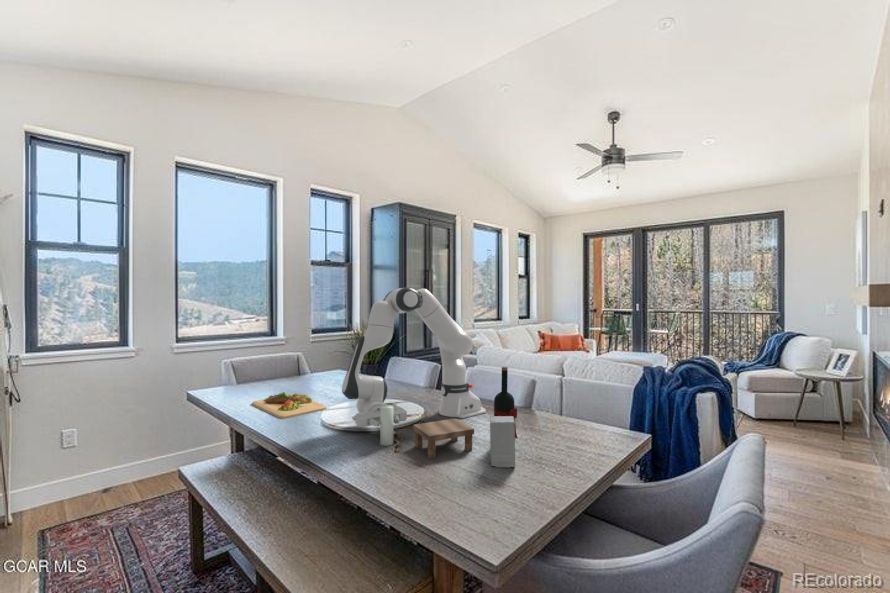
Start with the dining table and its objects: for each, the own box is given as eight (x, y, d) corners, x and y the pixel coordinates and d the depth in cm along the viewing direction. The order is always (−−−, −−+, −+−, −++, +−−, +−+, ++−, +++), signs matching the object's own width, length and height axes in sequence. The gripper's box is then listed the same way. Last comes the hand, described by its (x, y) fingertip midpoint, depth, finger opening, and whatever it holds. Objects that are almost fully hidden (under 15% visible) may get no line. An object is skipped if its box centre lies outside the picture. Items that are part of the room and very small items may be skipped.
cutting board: (329, 410, 215) (329, 394, 214) (282, 420, 198) (282, 404, 198) (294, 397, 239) (294, 383, 239) (250, 405, 222) (250, 390, 222)
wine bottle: (509, 454, 159) (510, 370, 158) (488, 446, 167) (489, 366, 166) (523, 449, 164) (524, 368, 163) (503, 441, 172) (503, 364, 171)
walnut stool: (455, 438, 175) (455, 418, 175) (474, 450, 162) (474, 428, 162) (413, 445, 167) (413, 424, 166) (429, 459, 154) (429, 436, 154)
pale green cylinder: (390, 440, 172) (390, 404, 172) (395, 444, 168) (395, 407, 168) (378, 442, 170) (378, 405, 170) (382, 446, 166) (382, 409, 165)
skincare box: (514, 461, 153) (514, 415, 153) (515, 469, 146) (516, 421, 146) (489, 459, 154) (490, 414, 154) (489, 468, 147) (490, 420, 146)
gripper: (350, 408, 176) (360, 418, 163) (399, 402, 185) (412, 411, 173) (350, 424, 176) (360, 435, 163) (399, 417, 185) (412, 427, 173)
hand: (387, 422), depth 168 cm, fingers open, 6 cm apart
